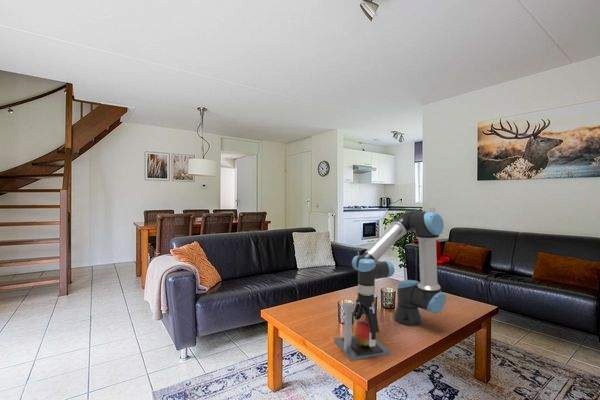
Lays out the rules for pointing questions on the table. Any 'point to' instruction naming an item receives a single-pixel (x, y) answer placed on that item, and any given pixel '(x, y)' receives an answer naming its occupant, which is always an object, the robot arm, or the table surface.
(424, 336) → the table surface
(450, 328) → the table surface
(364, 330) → the apple
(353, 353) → the stand
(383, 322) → the table surface
